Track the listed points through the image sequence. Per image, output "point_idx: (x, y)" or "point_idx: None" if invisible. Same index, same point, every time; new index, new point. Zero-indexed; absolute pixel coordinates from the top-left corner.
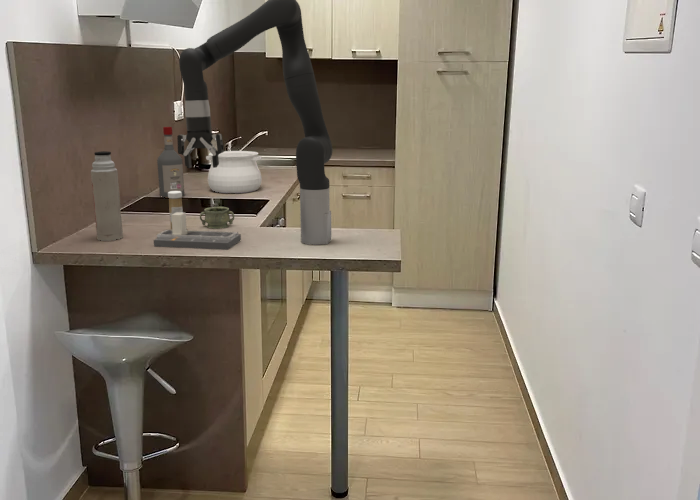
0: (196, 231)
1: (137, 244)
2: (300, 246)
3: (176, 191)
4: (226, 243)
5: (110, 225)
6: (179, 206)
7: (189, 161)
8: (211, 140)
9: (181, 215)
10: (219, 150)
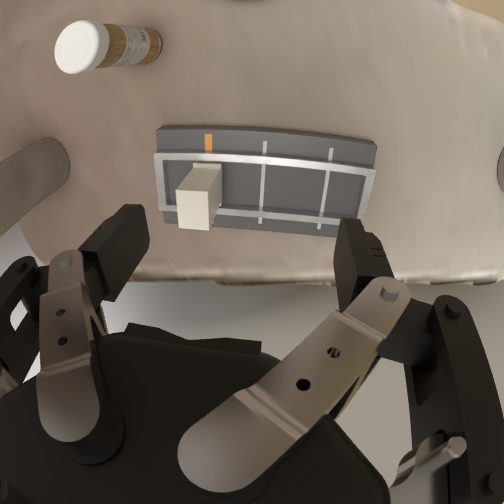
0: (248, 162)
1: (126, 202)
2: (491, 203)
3: (76, 37)
4: None
5: (45, 197)
6: (122, 53)
7: (128, 257)
8: (353, 452)
9: (209, 221)
10: (421, 371)
